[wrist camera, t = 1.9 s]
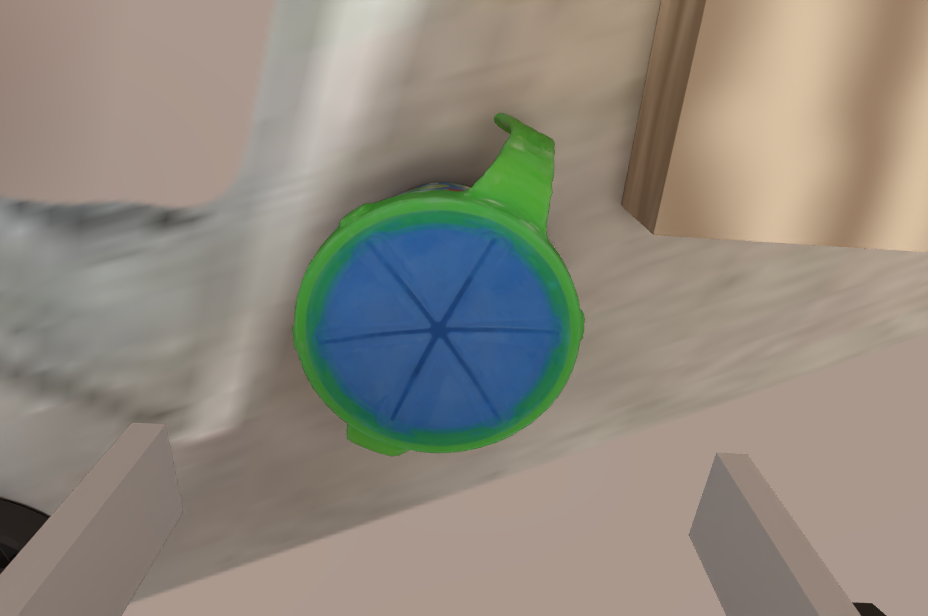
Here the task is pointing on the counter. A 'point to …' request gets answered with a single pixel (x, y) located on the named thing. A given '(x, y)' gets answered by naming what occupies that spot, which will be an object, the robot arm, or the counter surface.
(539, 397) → the snack cup
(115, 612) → the robot arm
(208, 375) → the counter surface
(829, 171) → the maple block
